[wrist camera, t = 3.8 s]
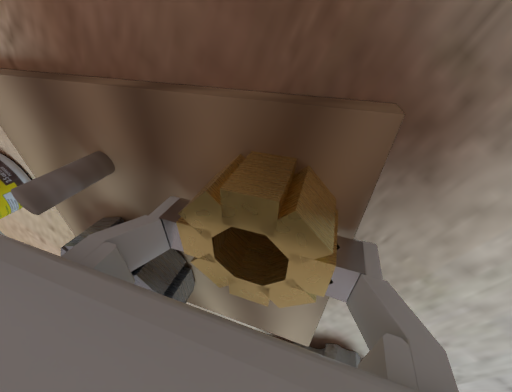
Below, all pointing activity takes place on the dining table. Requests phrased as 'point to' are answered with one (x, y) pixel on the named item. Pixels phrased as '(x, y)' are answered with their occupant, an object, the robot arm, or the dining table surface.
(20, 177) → the supplement bottle
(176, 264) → the grey gear
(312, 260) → the brass gear
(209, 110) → the gear board
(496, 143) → the dining table surface
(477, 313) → the dining table surface
